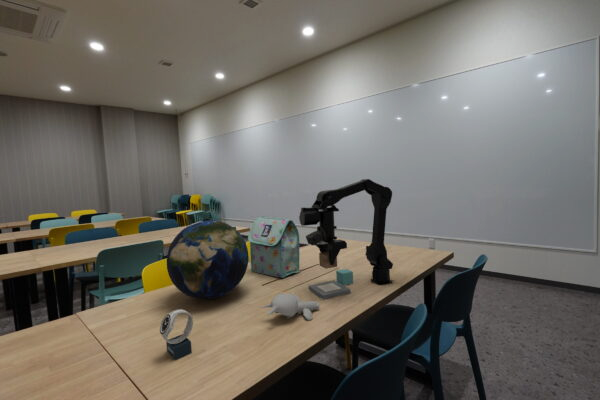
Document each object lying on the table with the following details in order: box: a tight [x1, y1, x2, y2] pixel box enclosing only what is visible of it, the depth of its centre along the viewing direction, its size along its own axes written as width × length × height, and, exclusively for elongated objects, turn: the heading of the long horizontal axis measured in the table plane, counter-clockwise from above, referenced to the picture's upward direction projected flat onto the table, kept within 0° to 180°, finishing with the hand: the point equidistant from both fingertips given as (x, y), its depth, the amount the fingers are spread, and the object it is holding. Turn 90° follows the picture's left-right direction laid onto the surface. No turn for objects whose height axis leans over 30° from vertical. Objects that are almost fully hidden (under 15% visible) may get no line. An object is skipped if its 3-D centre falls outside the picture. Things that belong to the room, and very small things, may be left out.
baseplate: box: [308, 280, 352, 300], centre depth 115 cm, size 12×12×2 cm
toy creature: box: [261, 293, 320, 321], centre depth 95 cm, size 13×7×20 cm
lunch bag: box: [247, 216, 301, 278], centre depth 142 cm, size 23×16×27 cm
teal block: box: [335, 268, 354, 286], centre depth 124 cm, size 5×5×5 cm
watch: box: [159, 308, 194, 361], centre depth 77 cm, size 6×8×11 cm
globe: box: [166, 219, 250, 301], centre depth 114 cm, size 30×30×30 cm
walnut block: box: [318, 252, 338, 270], centre depth 114 cm, size 5×5×5 cm
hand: (328, 263), depth 114 cm, fingers closed on walnut block, 5 cm apart
